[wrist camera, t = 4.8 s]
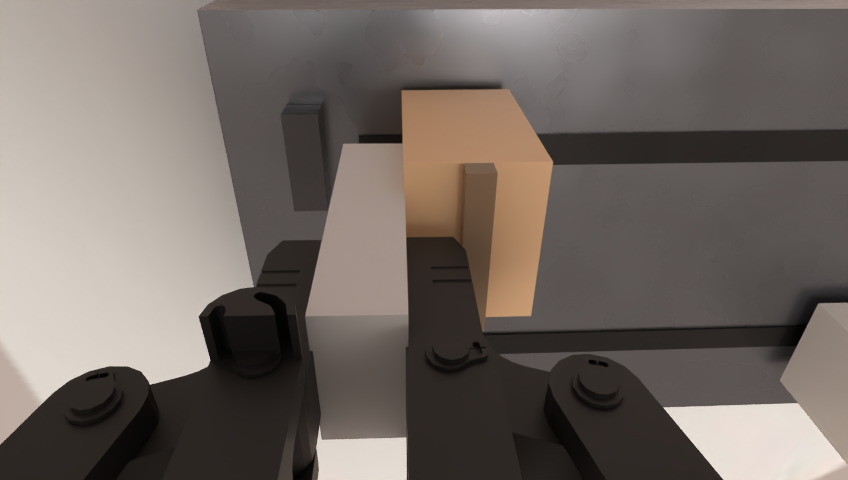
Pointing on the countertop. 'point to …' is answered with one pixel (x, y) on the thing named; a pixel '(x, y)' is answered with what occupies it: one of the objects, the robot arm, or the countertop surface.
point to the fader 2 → (823, 373)
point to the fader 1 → (478, 188)
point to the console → (584, 160)
